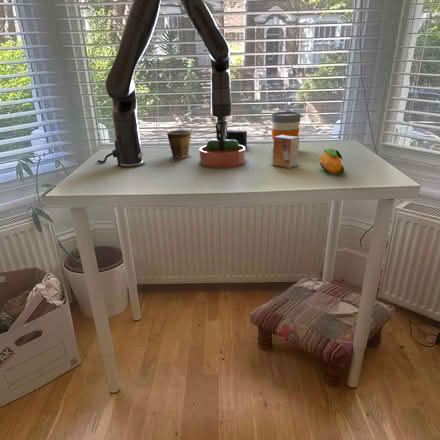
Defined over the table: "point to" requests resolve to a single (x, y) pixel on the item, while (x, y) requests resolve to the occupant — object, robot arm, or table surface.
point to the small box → (285, 151)
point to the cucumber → (228, 145)
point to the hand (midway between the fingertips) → (222, 149)
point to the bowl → (222, 157)
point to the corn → (331, 161)
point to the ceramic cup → (179, 143)
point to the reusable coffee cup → (285, 124)
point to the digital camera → (237, 136)
